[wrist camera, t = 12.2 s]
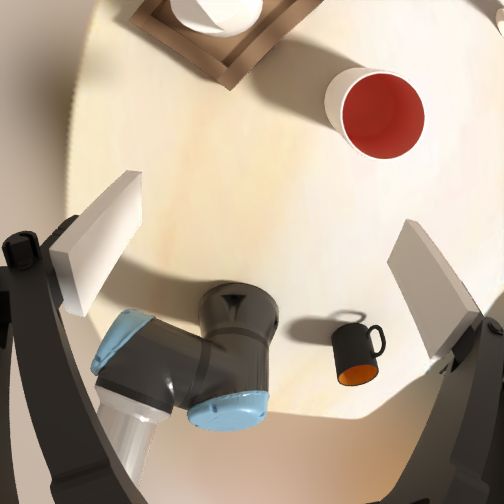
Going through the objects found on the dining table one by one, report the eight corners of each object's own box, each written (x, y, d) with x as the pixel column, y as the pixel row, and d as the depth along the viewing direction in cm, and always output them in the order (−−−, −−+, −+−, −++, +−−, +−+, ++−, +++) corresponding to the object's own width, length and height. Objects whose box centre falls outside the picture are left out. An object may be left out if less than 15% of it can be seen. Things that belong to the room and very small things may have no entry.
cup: (311, 78, 33) (325, 83, 25) (381, 60, 31) (414, 62, 23) (335, 146, 39) (354, 172, 30) (400, 128, 36) (433, 149, 28)
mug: (389, 321, 58) (401, 361, 50) (349, 351, 64) (355, 389, 56) (365, 306, 56) (376, 349, 47) (323, 339, 62) (328, 380, 53)
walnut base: (233, 88, 35) (229, 91, 31) (141, 23, 29) (128, 21, 26) (318, 5, 27) (324, -1, 24) (221, -61, 22) (216, -72, 18)
